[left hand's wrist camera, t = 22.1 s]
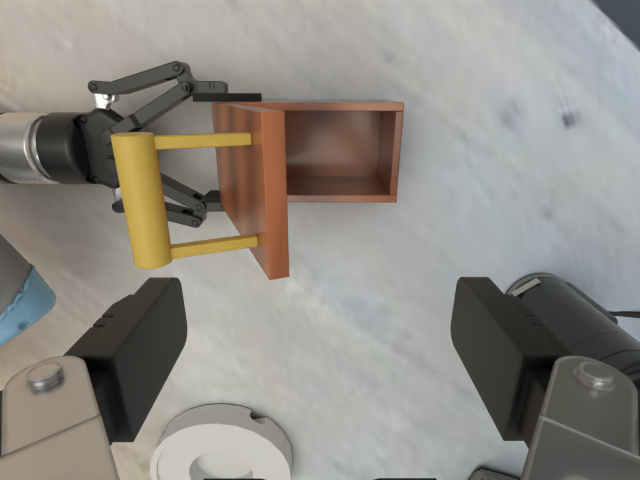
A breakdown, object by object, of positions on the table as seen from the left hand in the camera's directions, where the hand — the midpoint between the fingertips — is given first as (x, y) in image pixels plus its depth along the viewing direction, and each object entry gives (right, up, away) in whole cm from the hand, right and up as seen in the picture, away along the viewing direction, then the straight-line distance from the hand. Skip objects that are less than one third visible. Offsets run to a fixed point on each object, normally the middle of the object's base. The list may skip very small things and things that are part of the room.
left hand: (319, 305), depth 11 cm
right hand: (-6, +12, +30) cm, 33 cm away
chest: (-1, +14, +37) cm, 39 cm away
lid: (-5, +7, +19) cm, 21 cm away
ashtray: (-16, -36, +56) cm, 68 cm away
